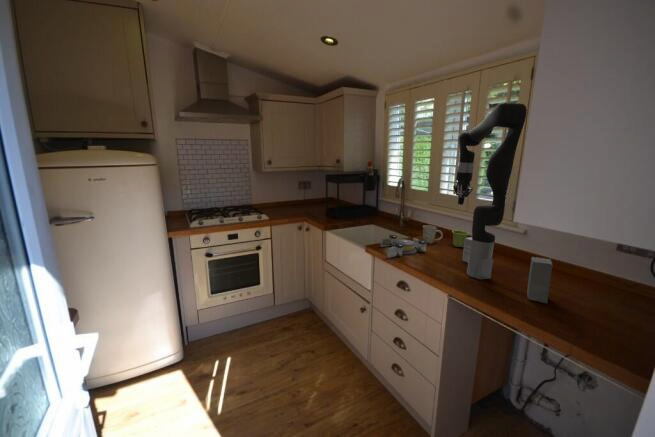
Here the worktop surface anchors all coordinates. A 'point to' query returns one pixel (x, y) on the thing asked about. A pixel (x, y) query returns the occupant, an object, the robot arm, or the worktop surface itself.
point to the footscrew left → (395, 250)
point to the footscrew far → (388, 241)
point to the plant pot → (459, 238)
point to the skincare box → (539, 279)
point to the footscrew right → (420, 245)
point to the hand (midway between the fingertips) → (460, 204)
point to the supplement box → (466, 249)
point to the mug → (430, 233)
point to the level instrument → (407, 246)
